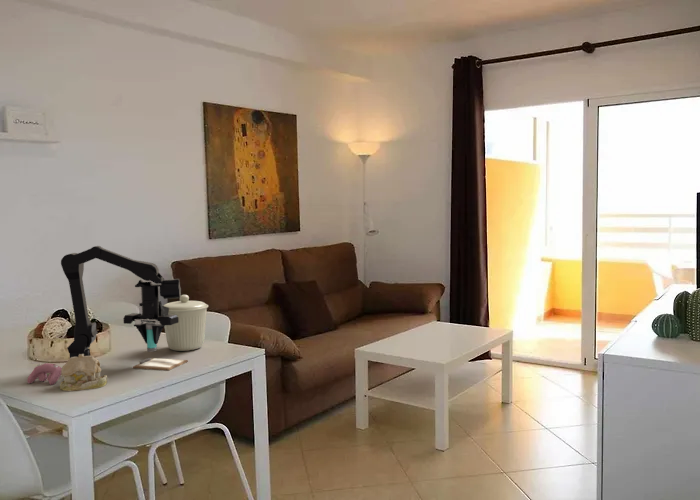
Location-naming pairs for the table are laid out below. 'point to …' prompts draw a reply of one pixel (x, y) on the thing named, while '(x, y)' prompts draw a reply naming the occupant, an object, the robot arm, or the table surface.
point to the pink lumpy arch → (41, 373)
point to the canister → (186, 324)
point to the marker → (150, 338)
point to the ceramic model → (82, 374)
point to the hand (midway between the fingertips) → (151, 343)
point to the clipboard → (159, 364)
